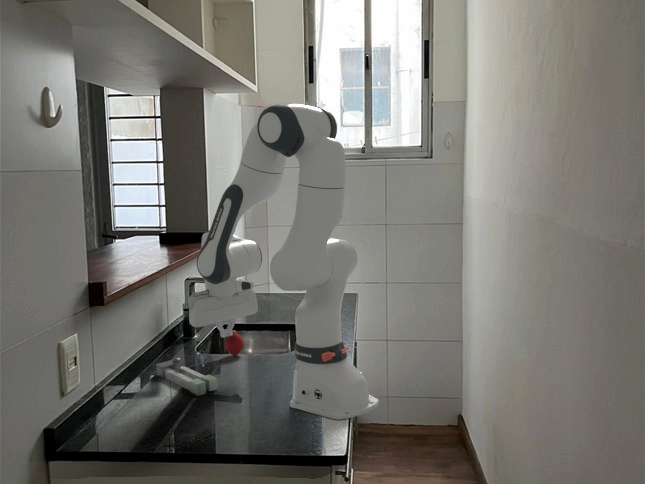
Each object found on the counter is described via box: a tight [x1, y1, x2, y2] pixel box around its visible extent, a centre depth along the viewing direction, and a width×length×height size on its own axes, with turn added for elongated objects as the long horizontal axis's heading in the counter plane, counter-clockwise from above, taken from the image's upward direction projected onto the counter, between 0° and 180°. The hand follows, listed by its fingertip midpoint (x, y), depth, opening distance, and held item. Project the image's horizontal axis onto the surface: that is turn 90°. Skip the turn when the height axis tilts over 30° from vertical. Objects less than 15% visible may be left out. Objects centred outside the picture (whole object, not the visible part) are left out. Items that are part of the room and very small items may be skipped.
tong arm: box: [171, 356, 219, 392], centre depth 176 cm, size 21×2×4 cm, turn 40°
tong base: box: [155, 359, 207, 397], centre depth 176 cm, size 24×6×3 cm, turn 40°
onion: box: [224, 329, 245, 357], centre depth 198 cm, size 6×6×8 cm
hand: (226, 336), depth 179 cm, fingers closed
